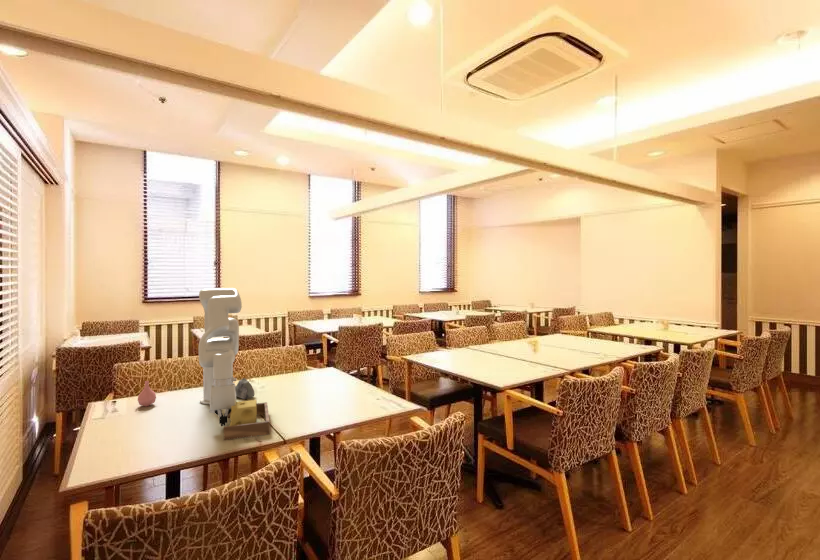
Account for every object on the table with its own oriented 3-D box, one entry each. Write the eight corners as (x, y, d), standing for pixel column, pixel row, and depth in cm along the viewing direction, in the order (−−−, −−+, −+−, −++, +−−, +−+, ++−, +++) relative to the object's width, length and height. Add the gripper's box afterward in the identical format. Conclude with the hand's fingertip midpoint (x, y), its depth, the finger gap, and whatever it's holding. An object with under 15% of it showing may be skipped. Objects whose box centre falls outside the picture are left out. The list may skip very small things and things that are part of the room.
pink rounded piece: (149, 408, 195) (149, 383, 195) (133, 408, 196) (133, 383, 195) (159, 403, 203) (159, 379, 203) (144, 402, 203) (144, 379, 203)
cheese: (229, 433, 166) (229, 408, 166) (232, 423, 176) (232, 400, 176) (256, 430, 169) (256, 406, 169) (257, 420, 180) (257, 398, 179)
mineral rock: (232, 394, 219) (232, 375, 218) (253, 391, 223) (253, 373, 223) (232, 401, 207) (232, 381, 207) (254, 398, 211) (254, 379, 211)
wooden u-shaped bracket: (227, 417, 184) (227, 406, 183) (267, 412, 190) (267, 402, 190) (224, 440, 159) (223, 427, 159) (269, 434, 165) (269, 421, 165)
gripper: (242, 377, 177) (242, 419, 177) (204, 381, 171) (204, 424, 172) (242, 382, 170) (242, 425, 170) (202, 385, 164) (202, 430, 165)
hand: (223, 424), depth 171 cm, fingers closed
